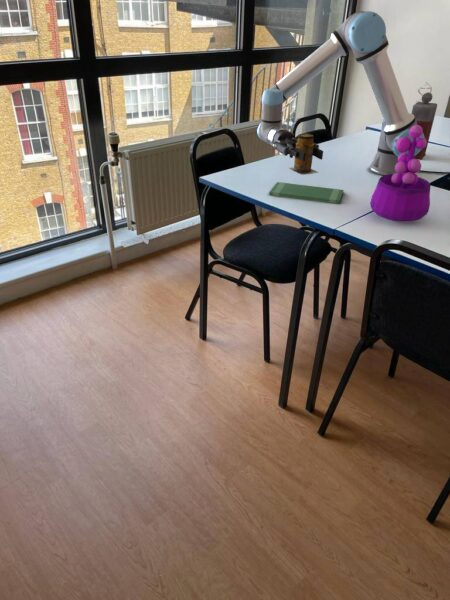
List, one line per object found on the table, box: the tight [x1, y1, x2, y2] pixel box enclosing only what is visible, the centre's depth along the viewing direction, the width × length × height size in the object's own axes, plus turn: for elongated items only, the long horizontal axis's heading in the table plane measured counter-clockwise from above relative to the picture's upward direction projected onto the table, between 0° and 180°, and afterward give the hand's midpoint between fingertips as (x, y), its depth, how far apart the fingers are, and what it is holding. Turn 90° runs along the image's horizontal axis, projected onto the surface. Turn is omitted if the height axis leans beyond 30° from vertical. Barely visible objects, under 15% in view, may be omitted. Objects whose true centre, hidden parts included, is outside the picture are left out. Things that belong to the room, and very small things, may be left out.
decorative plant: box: [369, 125, 431, 223], centre depth 148 cm, size 19×18×30 cm
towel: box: [269, 181, 344, 205], centre depth 174 cm, size 26×12×1 cm, turn 71°
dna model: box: [414, 81, 433, 104], centre depth 224 cm, size 7×6×30 cm
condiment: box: [288, 133, 320, 176], centre depth 158 cm, size 7×8×12 cm
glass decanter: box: [410, 91, 438, 161], centre depth 212 cm, size 9×11×28 cm
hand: (313, 156), depth 154 cm, fingers closed on condiment, 6 cm apart
